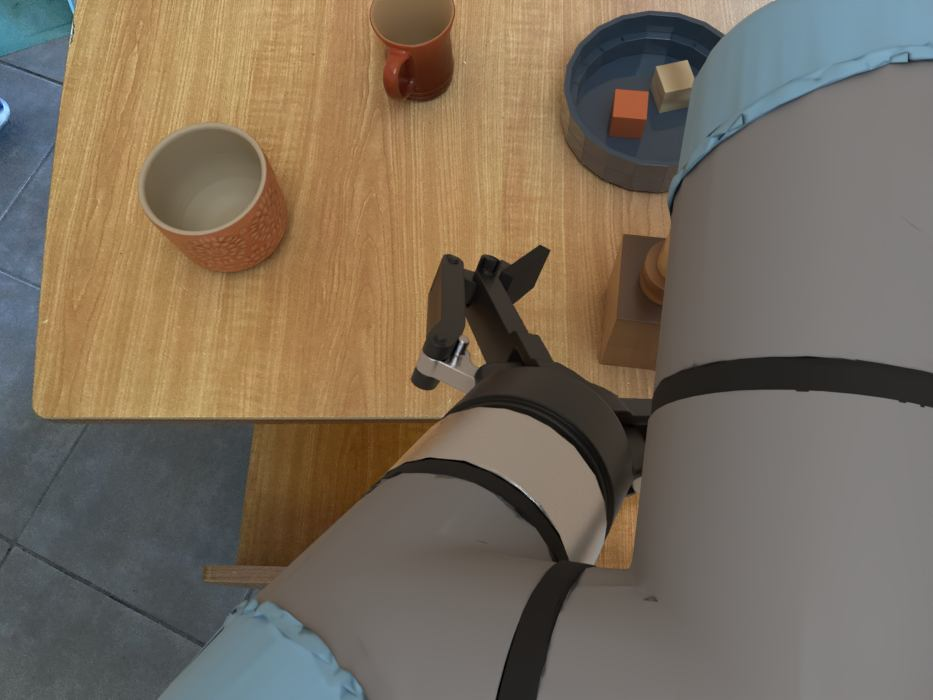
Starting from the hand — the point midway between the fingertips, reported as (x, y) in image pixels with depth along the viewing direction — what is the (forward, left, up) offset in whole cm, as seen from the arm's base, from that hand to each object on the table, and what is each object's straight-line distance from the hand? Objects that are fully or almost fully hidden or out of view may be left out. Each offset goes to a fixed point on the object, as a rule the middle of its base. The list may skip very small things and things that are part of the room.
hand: (635, 318), depth 46 cm
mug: (+22, -37, -29) cm, 52 cm away
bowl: (-4, -36, -28) cm, 46 cm away
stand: (-5, -11, -28) cm, 31 cm away
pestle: (-5, -11, -16) cm, 20 cm away
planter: (+38, -17, -29) cm, 51 cm away
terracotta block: (-1, -34, -28) cm, 44 cm away
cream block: (-6, -38, -28) cm, 48 cm away
